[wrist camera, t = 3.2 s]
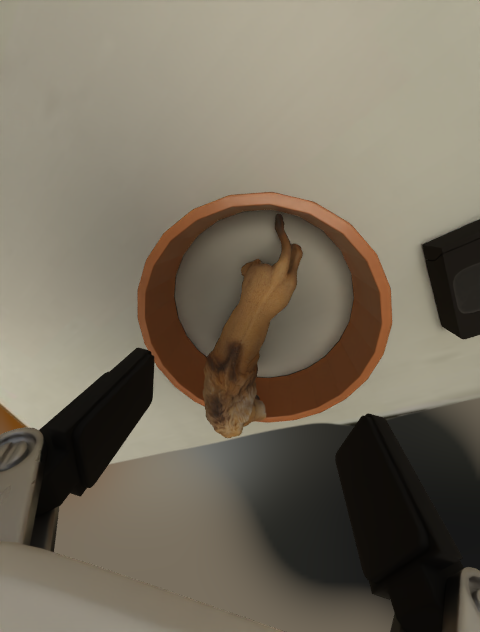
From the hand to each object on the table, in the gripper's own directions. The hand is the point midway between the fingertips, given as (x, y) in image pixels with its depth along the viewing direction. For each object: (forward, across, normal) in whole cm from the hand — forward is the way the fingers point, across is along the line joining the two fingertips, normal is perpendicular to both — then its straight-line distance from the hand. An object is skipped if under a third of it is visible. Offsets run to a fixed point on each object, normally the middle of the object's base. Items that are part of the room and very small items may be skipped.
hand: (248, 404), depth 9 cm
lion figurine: (+11, 0, 0) cm, 11 cm away
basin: (+11, 0, 0) cm, 11 cm away
